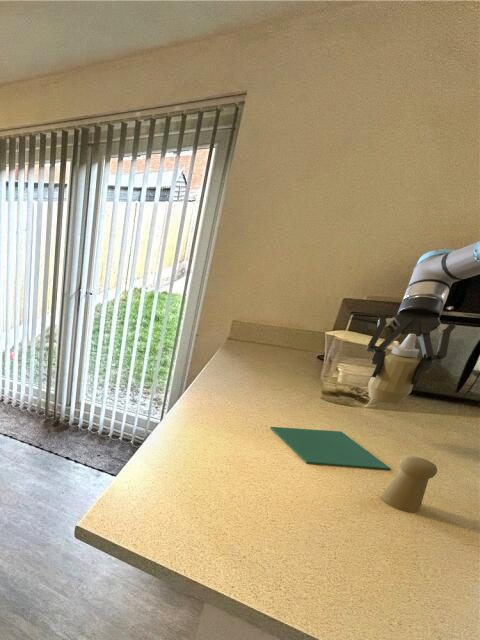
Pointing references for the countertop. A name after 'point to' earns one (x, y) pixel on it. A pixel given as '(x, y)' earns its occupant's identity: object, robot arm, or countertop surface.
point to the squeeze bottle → (396, 373)
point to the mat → (328, 448)
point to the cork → (409, 484)
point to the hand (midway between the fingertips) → (394, 378)
